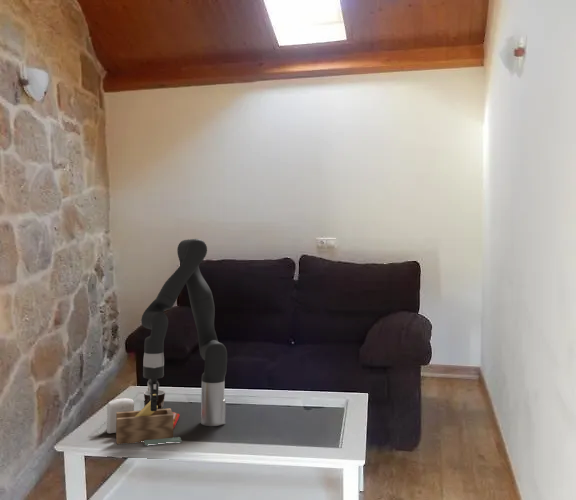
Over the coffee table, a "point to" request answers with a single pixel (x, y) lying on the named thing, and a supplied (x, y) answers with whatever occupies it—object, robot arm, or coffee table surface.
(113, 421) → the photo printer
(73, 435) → the coffee table surface
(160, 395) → the coffee mug
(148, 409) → the slat
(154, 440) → the grey-green flat bar
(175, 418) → the candy bar
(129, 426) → the pocket block
